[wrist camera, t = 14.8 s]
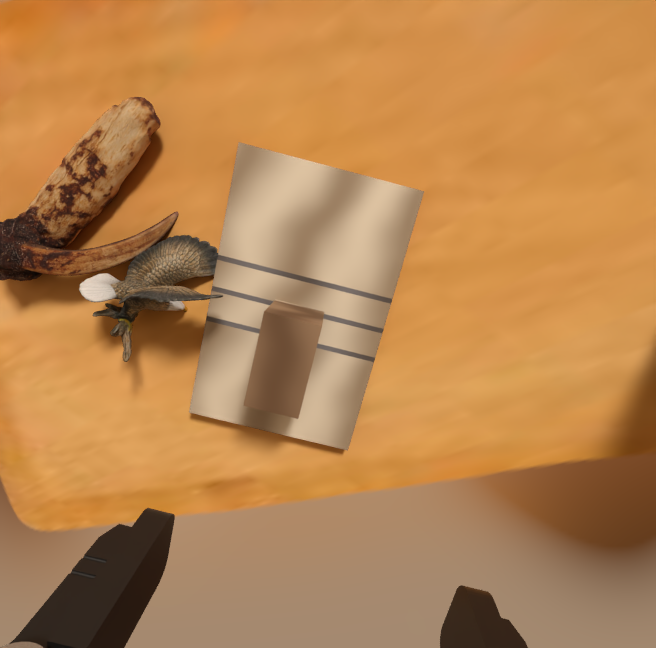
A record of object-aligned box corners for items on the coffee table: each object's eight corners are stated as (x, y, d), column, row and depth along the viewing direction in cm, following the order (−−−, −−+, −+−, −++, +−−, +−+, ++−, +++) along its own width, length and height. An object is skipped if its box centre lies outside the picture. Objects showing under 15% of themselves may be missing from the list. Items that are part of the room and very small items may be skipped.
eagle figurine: (169, 366, 32) (246, 308, 29) (81, 359, 26) (169, 285, 23) (148, 292, 35) (217, 232, 32) (64, 270, 29) (140, 194, 26)
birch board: (420, 193, 30) (424, 191, 29) (347, 443, 35) (347, 450, 33) (242, 145, 29) (238, 142, 28) (194, 406, 34) (189, 412, 33)
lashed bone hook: (81, 326, 34) (224, 178, 30) (41, 343, 29) (204, 172, 26) (-9, 245, 32) (132, 78, 28) (-66, 250, 27) (94, 52, 24)
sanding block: (324, 311, 31) (322, 326, 26) (303, 391, 32) (298, 419, 27) (275, 299, 31) (263, 311, 26) (257, 379, 32) (243, 405, 27)
